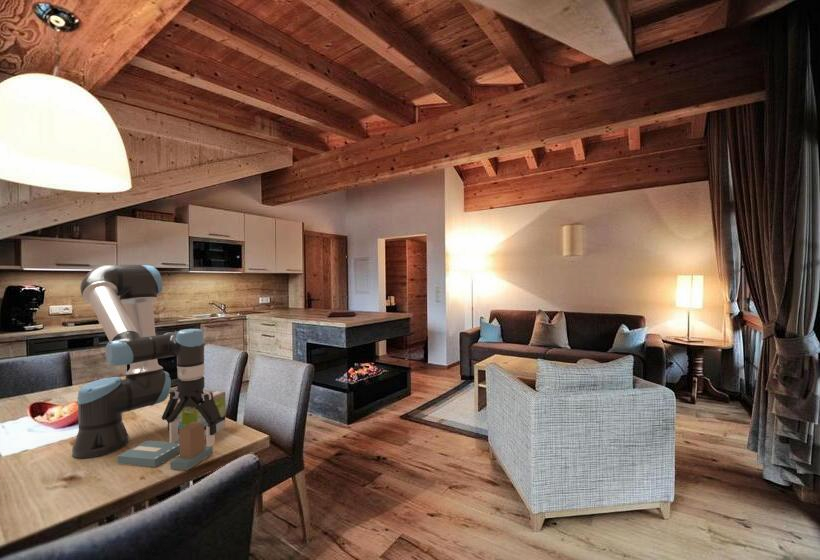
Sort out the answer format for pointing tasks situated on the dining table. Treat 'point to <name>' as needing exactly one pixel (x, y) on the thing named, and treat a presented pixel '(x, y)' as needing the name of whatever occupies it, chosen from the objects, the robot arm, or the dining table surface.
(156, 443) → the ticket
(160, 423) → the dining table surface
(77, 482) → the dining table surface
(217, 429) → the tea box
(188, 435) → the stub
